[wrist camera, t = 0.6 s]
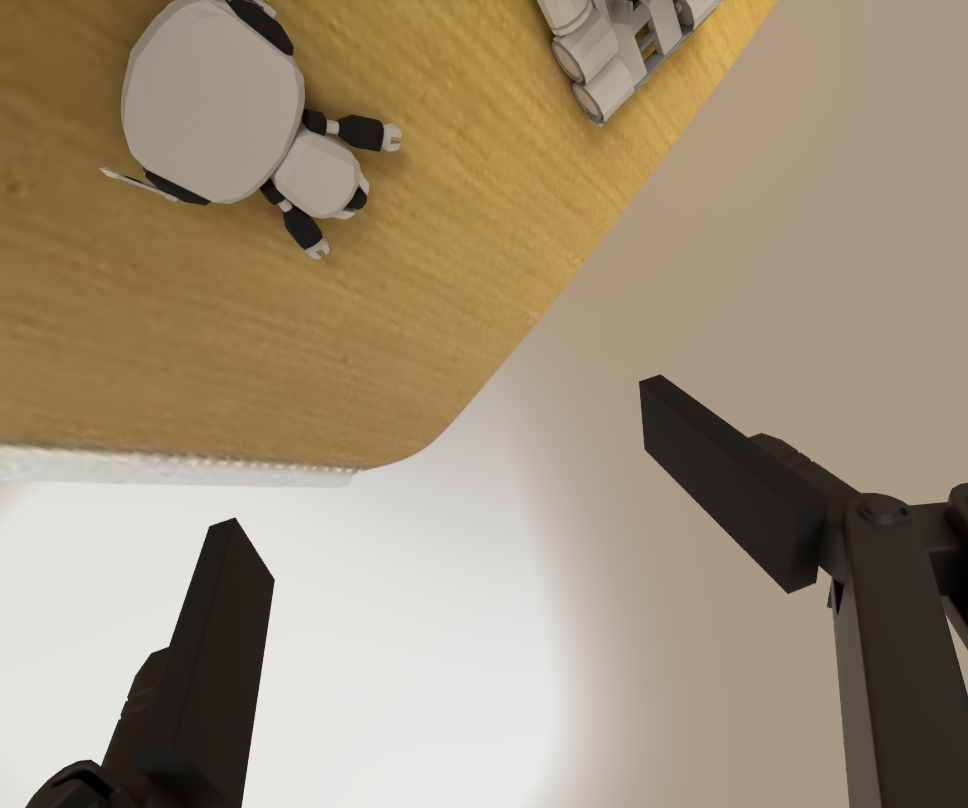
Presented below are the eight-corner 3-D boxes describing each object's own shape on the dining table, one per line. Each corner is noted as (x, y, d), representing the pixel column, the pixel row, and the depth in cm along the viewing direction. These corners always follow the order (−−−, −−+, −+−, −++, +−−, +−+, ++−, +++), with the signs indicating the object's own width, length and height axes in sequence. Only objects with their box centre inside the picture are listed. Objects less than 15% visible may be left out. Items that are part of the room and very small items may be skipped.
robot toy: (397, 114, 37) (178, -75, 26) (423, 139, 35) (194, -58, 23) (308, 249, 41) (83, 138, 30) (326, 280, 39) (88, 172, 27)
